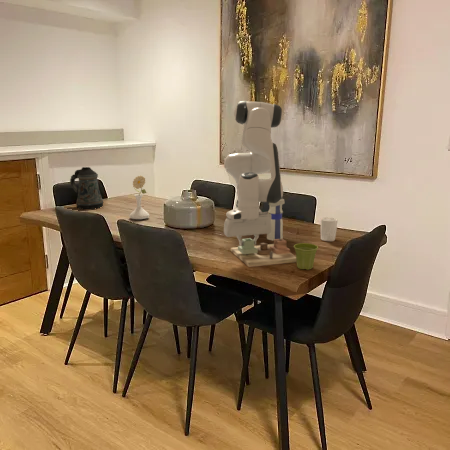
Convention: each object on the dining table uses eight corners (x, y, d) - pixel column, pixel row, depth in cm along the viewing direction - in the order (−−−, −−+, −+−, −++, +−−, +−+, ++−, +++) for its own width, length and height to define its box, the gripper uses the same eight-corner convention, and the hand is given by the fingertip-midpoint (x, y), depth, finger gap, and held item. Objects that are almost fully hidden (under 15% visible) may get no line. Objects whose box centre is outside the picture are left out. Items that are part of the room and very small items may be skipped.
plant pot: (305, 273, 175) (306, 251, 172) (287, 266, 182) (288, 245, 180) (321, 268, 180) (323, 247, 178) (304, 262, 187) (305, 241, 185)
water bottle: (269, 241, 216) (271, 189, 210) (263, 236, 224) (264, 186, 218) (285, 240, 218) (288, 188, 212) (279, 235, 226) (281, 185, 220)
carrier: (230, 251, 201) (230, 235, 199) (276, 246, 208) (276, 232, 206) (248, 266, 181) (249, 250, 179) (298, 261, 188) (299, 245, 186)
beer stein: (103, 209, 284) (101, 168, 278) (71, 210, 279) (67, 169, 273) (103, 203, 300) (101, 165, 294) (72, 205, 295) (69, 166, 289)
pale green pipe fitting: (237, 249, 193) (238, 238, 192) (251, 248, 195) (252, 237, 194) (243, 254, 187) (243, 242, 186) (257, 252, 189) (257, 241, 188)
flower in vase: (125, 218, 260) (123, 174, 254) (142, 215, 268) (141, 172, 262) (137, 222, 251) (135, 177, 245) (155, 219, 258) (153, 175, 252)
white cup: (338, 238, 222) (339, 218, 219) (333, 242, 215) (334, 222, 213) (322, 236, 226) (323, 216, 223) (317, 240, 219) (318, 219, 217)
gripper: (268, 209, 193) (267, 241, 197) (222, 212, 187) (222, 245, 190) (274, 212, 188) (273, 245, 191) (227, 216, 181) (227, 249, 185)
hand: (247, 245), depth 191 cm, fingers closed on pale green pipe fitting, 4 cm apart
